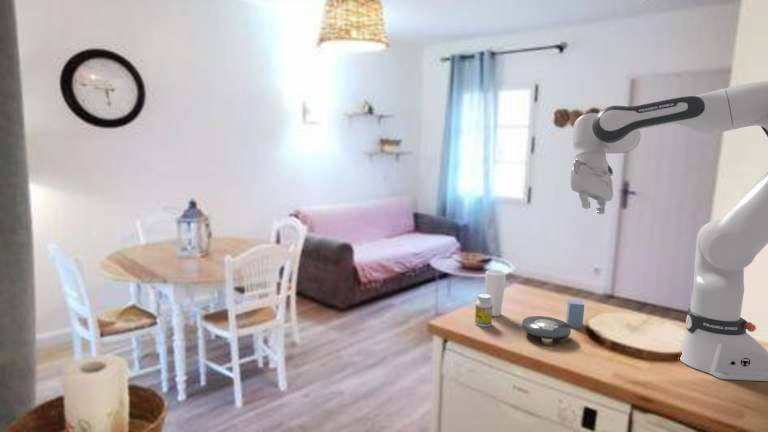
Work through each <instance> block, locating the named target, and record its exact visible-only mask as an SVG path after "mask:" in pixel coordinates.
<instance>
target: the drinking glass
mask: <svg viewBox="0 0 768 432" xmlns="http://www.w3.org/2000/svg"><path fill="white" fill-rule="evenodd" d="M506 275H507V273H506V272H505V271H503V270H498V269H488V270H486V271H485V275H484V276H485V278H484V290H485V291H484V292H485V293H484V294H487V295H490V296H491V300H490V302H491V303H492V305H493V307H492V317H500V316H501V315H502V308H503V301H504V296H505V295H504V294H505V290H506V289H505V288H506V282H507V281H506V279H507V277H506Z"/></svg>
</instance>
